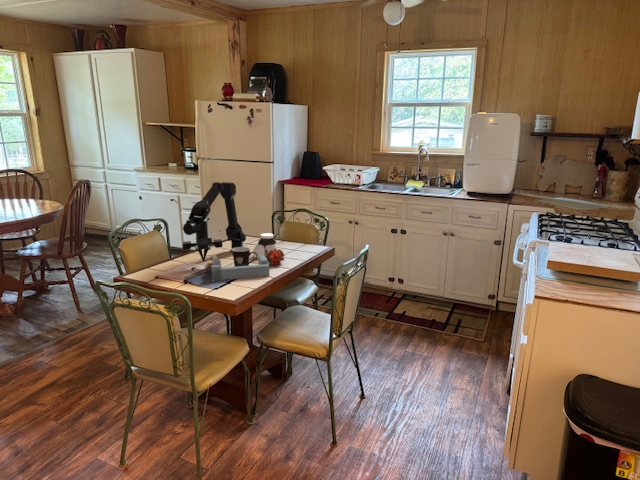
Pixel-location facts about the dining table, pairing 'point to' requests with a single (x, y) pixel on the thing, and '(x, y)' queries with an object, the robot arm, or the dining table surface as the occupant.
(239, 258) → the coffee mug
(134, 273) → the dining table surface
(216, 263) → the sliding jaw
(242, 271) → the vise
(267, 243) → the spread jar
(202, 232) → the robot arm
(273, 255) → the dragon fruit
